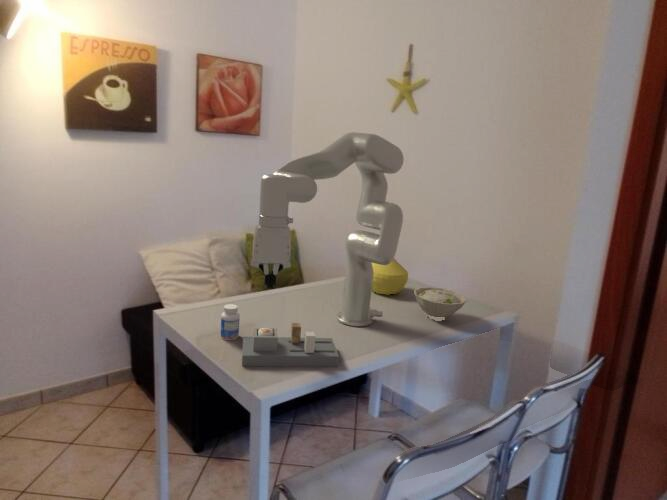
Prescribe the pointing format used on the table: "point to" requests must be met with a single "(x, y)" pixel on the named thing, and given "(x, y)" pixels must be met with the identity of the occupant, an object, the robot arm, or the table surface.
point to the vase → (389, 278)
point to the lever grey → (309, 342)
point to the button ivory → (265, 332)
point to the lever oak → (295, 333)
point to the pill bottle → (230, 322)
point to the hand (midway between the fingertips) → (269, 287)
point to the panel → (286, 351)
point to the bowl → (439, 301)
